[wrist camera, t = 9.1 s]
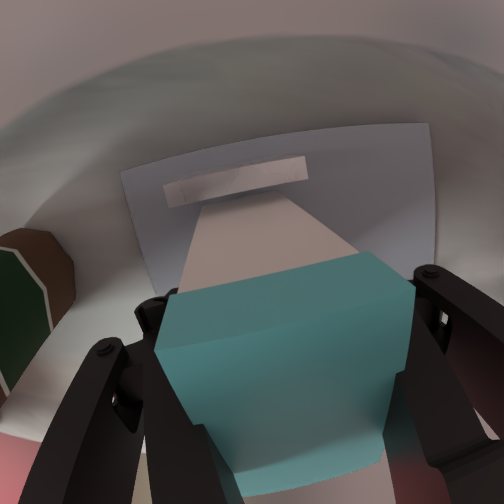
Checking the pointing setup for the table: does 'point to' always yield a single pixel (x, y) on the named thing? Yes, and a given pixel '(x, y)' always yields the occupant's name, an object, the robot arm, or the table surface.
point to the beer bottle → (30, 298)
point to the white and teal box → (284, 343)
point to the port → (234, 178)
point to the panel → (305, 194)
